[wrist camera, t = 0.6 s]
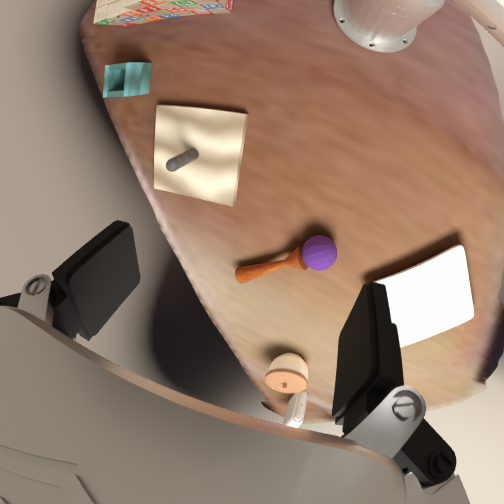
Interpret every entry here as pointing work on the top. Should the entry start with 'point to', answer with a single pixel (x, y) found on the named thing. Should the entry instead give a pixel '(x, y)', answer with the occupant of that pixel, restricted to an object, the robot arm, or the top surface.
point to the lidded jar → (287, 374)
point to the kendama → (295, 259)
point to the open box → (127, 79)
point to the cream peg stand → (199, 152)
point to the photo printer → (296, 409)
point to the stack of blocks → (154, 10)
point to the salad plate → (430, 296)
